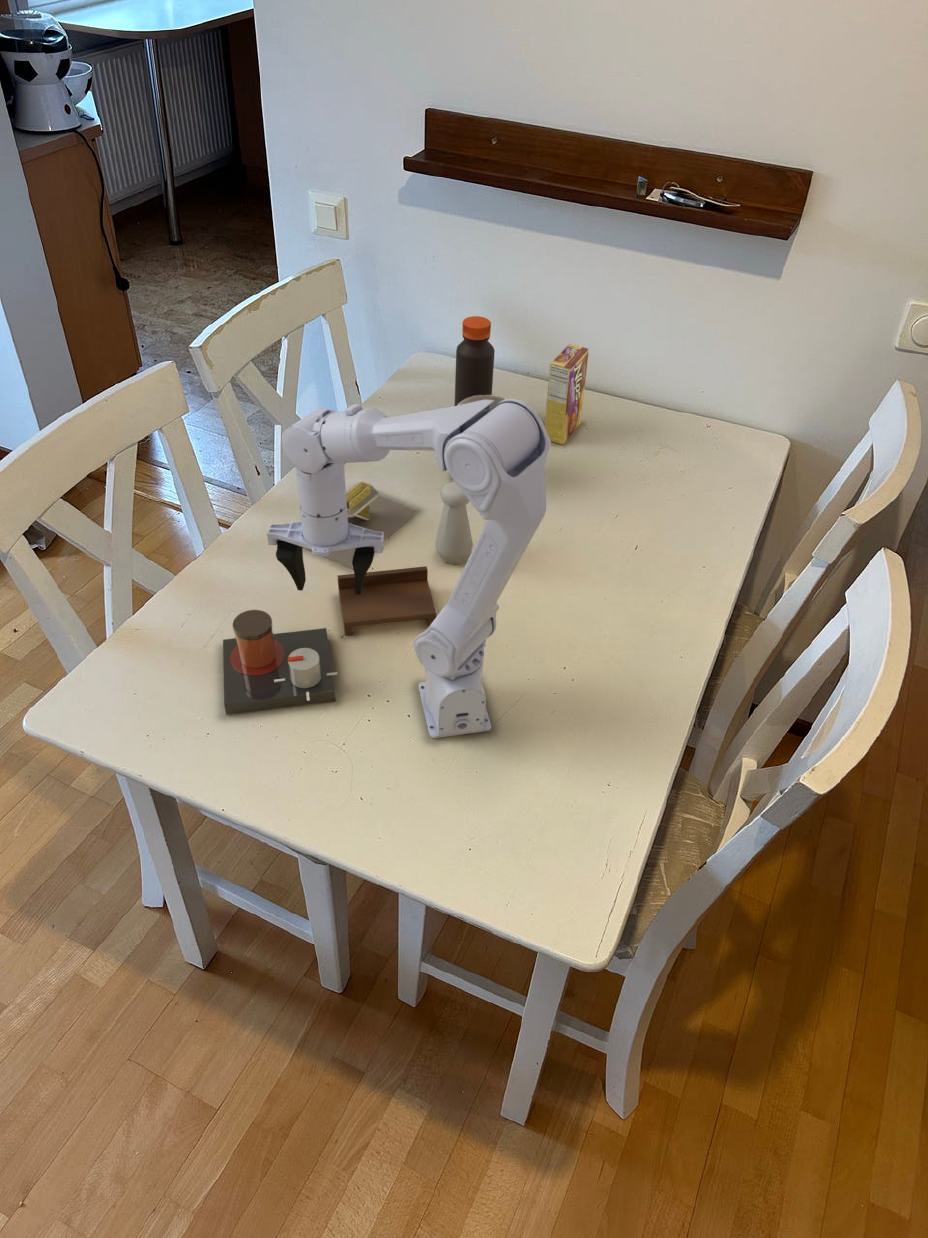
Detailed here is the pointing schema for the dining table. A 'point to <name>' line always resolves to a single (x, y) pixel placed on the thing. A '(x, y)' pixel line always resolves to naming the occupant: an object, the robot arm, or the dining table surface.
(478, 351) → the bottle
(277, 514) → the dining table surface
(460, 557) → the salt shaker
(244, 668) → the disc
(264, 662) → the jar
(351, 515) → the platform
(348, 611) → the spice shelf
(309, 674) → the hob knob
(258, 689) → the hob
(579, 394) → the candy box
